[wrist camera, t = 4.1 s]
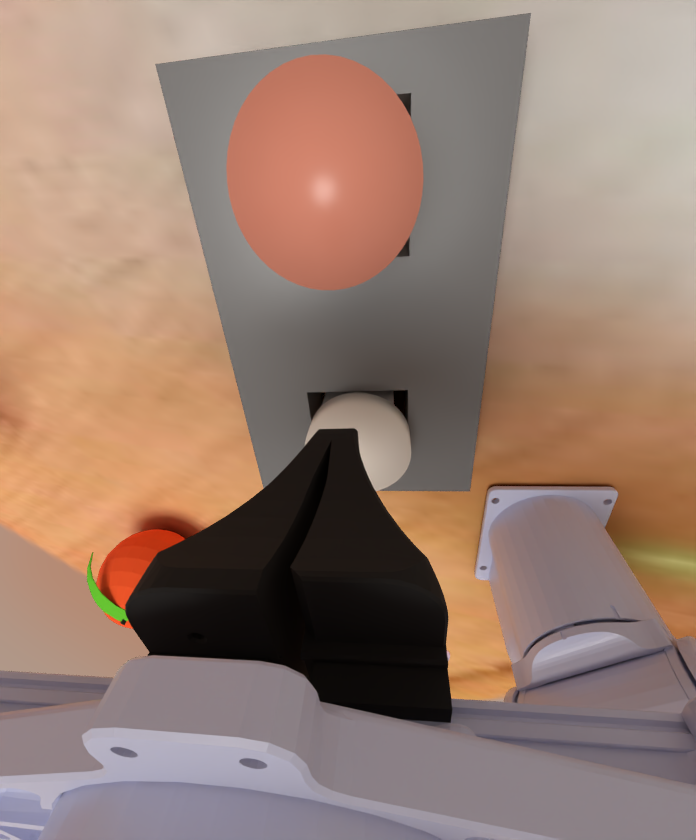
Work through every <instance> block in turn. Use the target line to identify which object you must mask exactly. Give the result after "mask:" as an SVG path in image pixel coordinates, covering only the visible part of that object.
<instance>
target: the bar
mask: <svg viewBox="0 0 696 840" xmlns="http://www.w3.org/2000/svg"><path fill="white" fill-rule="evenodd" d="M530 16H531V13H528V14H520V15H513V16H506V17H498V18H491V19H484V20H476V21H469V22H462V23H454V24H447V25H440V26H432V27H425V28H418V29H410V30H403V31H396V32H388V33H381V34H374V35H366V36H359V37H352V38H344V39H337V40H330V41H322V42H315V43H308V44H300V45H293V46H286V47H278V48H271V49H264V50H256V51H249V52H242V53H234V54H227V55H220V56H212V57H205V58H198V59H190V60H183V61H176V62H168V63H161V64H155V65H156V68H157V72H158V76H159V80H160V84H161V88H162V92H163V96H164V100H165V104H166V108H167V112H168V115H169V119H170V123H171V127H172V131H173V135H174V139H175V143H176V147H177V151H178V155H179V159H180V162H181V166H182V170H183V174H184V178H185V182H186V186H187V190H188V194H189V198H190V202H191V206H192V209H193V213H194V217H195V221H196V225H197V229H198V233H199V237H200V241H201V245H202V249H203V253H204V256H205V260H206V264H207V268H208V272H209V276H210V280H211V284H212V288H213V292H214V296H215V300H216V303H217V307H218V311H219V315H220V319H221V323H222V327H223V331H224V335H225V339H226V343H227V346H228V350H229V354H230V358H231V362H232V366H233V370H234V374H235V378H236V382H237V386H238V390H239V393H240V397H241V401H242V405H243V409H244V413H245V417H246V421H247V425H248V429H249V433H250V437H251V440H252V444H253V448H254V452H255V456H256V460H257V464H258V468H259V472H260V476H261V480H262V484H263V487H264V488H265V487H266V486H267V485H268V484H269V483H271V482H272V481H273V480H274V479H275V478H276V477H277V476H278V475H279V474H280V473H281V472H282V471H283V470H284V469H285V468H286V467H287V466H288V464H289V463H290V462H291V461H292V460H293V459H294V458H295V457H296V456H297V454H298V453H299V452H300V451H301V450H302V449H303V447H304V446H305V440H306V436H307V433H308V430H309V427H310V424H311V421H312V419H313V416H314V415H315V413H316V412H317V410H318V409H319V408H320V407H321V406H322V403H323V400H322V392H347V391H388V390H405V419H406V421H407V423H408V426H409V431H410V442H411V460H410V463H409V466H408V468H407V470H406V471H405V473H404V474H403V475H402V477H401V478H400V479H399V480H397V481H396V482H395V483H393V484H392V485H390V486H388V487H386V488H384V489H381V490H378V491H470V487H471V479H472V471H473V463H474V455H475V447H476V440H477V432H478V424H479V416H480V408H481V400H482V393H483V385H484V377H485V369H486V361H487V353H488V346H489V338H490V330H491V322H492V314H493V306H494V299H495V291H496V283H497V275H498V267H499V259H500V251H501V244H502V236H503V228H504V220H505V212H506V204H507V197H508V189H509V181H510V173H511V165H512V157H513V150H514V142H515V134H516V126H517V118H518V110H519V103H520V95H521V87H522V79H523V71H524V63H525V56H526V48H527V40H528V32H529V24H530ZM323 54H327V55H334V56H341V57H344V58H347V59H350V60H353V61H356V62H358V63H359V64H361V65H363V66H365V67H367V68H369V69H370V70H372V71H373V72H374V73H376V74H377V75H378V76H380V77H381V78H382V79H383V80H384V81H385V82H386V83H387V84H388V85H389V86H390V87H391V88H392V89H393V90H394V92H395V93H396V94H397V96H398V97H399V99H400V100H401V101H402V103H403V104H404V106H405V108H406V110H407V112H408V113H409V115H410V117H411V120H412V122H413V125H414V127H415V130H416V132H417V136H418V140H419V144H420V147H421V154H422V161H423V192H422V199H421V204H420V209H419V213H418V216H417V219H416V222H415V225H414V227H413V230H412V232H411V234H410V236H409V238H408V240H407V241H406V245H404V247H403V248H402V250H401V251H400V252H399V254H398V255H397V256H396V257H395V259H394V260H393V261H392V262H391V263H390V264H389V265H388V266H387V267H386V268H385V269H383V270H382V271H381V272H380V273H378V274H377V275H376V276H374V277H372V278H371V279H369V280H367V281H366V282H363V283H361V284H358V285H356V286H353V287H349V288H346V289H340V290H317V289H310V288H307V287H303V286H300V285H297V284H295V283H293V282H290V281H288V280H287V279H285V278H283V277H282V276H280V275H278V274H277V273H276V272H274V271H273V270H272V269H271V268H269V267H268V266H267V265H266V264H265V263H264V262H263V261H262V260H261V259H260V258H259V257H258V256H257V254H256V253H255V252H254V251H253V249H252V248H251V247H250V245H249V244H248V242H247V240H246V239H245V237H244V235H243V233H242V232H241V230H240V228H239V226H238V223H237V221H236V218H235V215H234V213H233V209H232V206H231V202H230V198H229V192H228V185H227V170H226V165H227V151H228V145H229V140H230V135H231V132H232V129H233V125H234V122H235V120H236V117H237V115H238V113H239V111H240V108H241V106H242V105H243V103H244V101H245V100H246V98H247V97H248V95H249V94H250V92H251V91H252V90H253V89H254V87H255V86H256V85H257V84H258V83H259V82H260V81H261V80H262V79H263V78H264V77H265V76H266V75H267V74H269V73H270V72H271V71H273V70H274V69H276V68H277V67H279V66H280V65H282V64H284V63H286V62H289V61H291V60H294V59H296V58H300V57H304V56H309V55H323Z"/></svg>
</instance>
